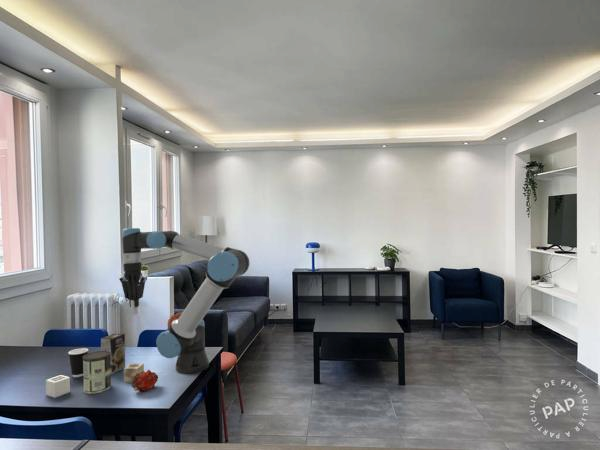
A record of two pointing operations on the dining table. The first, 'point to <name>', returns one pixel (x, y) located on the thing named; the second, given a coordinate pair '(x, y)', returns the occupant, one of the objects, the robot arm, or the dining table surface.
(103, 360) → the coffee can
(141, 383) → the dragon fruit
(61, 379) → the off-white block
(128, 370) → the birch block
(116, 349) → the coffee box
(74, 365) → the dixie cup
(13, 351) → the dining table surface
